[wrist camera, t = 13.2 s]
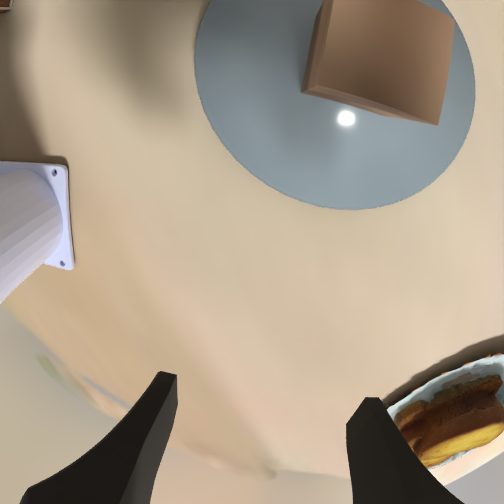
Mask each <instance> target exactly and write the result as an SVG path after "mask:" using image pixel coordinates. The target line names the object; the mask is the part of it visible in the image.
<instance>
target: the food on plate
mask: <svg viewBox="0 0 504 504" xmlns="http://www.w3.org/2000/svg"><path fill="white" fill-rule="evenodd" d="M490 355H491V354H489V355H488V356H487V357H486V358H482V359H480V360H476V361H474V362H469V363H465V365H464V366H463V367H461V368H458V369H456V370H453V371H450V372H445V373H442V374H441V376H438V377H436V378H434V379H432V380H430V381H429V382H428V383H426V384H425V385H424V386H421V387H419V388H417V389H415V390H414V391H412V392H413V393H412V394H410V395H409V396H407V397H405V398H404V399H402V400H401V401H399V402H397V403H396V404H395V405H393V406H390V407H389V408H388V409H387V411H388V413H389V415H390V416H391V418H392V419H393V421H394V423H396V426H397V428H398V429H399V431H400V432H401V434H402V435H403V437H404V438H405V440H406V441H407V443H408V444H409V446H410V447H411V449H412V450H413V452H414V453H415V454H416V456H417V457H418V458H419V460H420V461H421V462H422V463H423V465H424V466H425V467H426V468H427V469H428V470H430V469H433V468H436V467H439V466H442V465H445V464H447V463H449V462H451V461H453V460H455V459H457V458H459V457H462V456H464V455H466V454H467V453H469V452H471V451H472V450H474V449H476V448H477V447H481V446H484V445H486V444H488V443H490V442H491V441H492V440H494V439H495V438H496V437H498V436H499V435H500V434H501V433H502V432H503V431H504V355H503V354H501V353H497V354H495V355H493V357H491V356H490ZM467 373H470V374H471V375H476V374H478V373H479V374H480V375H481V376H478V377H474V378H472V379H469V380H467V381H464V382H462V383H460V384H457V385H452V386H448V387H444V388H443V387H442V385H443V384H445V383H447V382H450V381H452V380H455V379H456V378H458V377H459V376H461V375H464V374H467Z"/></svg>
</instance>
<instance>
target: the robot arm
mask: <svg viewBox="0 0 504 504" xmlns="http://www.w3.org/2000/svg"><path fill="white" fill-rule="evenodd" d="M55 169H56V171H57V174H56V173H55ZM63 262H64V263H65V264H64V263H63ZM42 263H44V264H48V265H51V266H55V267H59V268H62V269H66V270H72V269H73V268H74V266H75V263H74V255H73V246H72V237H71V225H70V212H69V192H68V169H67V167H66V166H65V165H61V164H48V163H32V162H12V161H0V303H1V302H2V301H3V300H4V299H5V298H6V297H7V296H8V295H9V294H10V293H11V292H12V291H13V290H14V289H16V288H17V287H18V286H19V285H20V284H21V283H22V282H23V281H24V280H25V279H26V278H27V277H28V276H29V275H30V274H31V273H32V272H34V271H35V270H36V269H37V268H38V267H39V266H40V265H41V264H42ZM177 406H178V399H177V375H176V374H171V373H167V372H163V371H160V372H158V373H157V375H156V376H155V378H154V379H153V381H152V382H151V384H150V385H149V387H148V388H147V389H146V391H145V392H144V393H143V395H142V396H141V397H140V399H139V400H138V401H137V402H136V404H135V405H134V406H133V407H132V408H131V410H130V411H129V412H128V413H127V414H126V415H125V417H124V418H123V419H122V420H121V421H120V422H119V423H118V424H117V425H116V426H115V427H114V428H113V429H112V430H111V431H110V432H109V433H108V434H107V435H106V436H105V437H104V438H103V439H102V440H101V441H100V442H99V443H97V444H96V445H95V446H94V447H93V448H92V449H90V450H89V451H88V452H87V453H85V454H84V455H83V456H81V457H80V458H79V459H77V460H76V461H75V462H73V463H72V464H70V465H69V466H67V467H66V468H64V469H62V470H61V471H59V472H58V473H56V474H54V475H53V476H51V477H49V478H47V479H45V480H43V481H41V482H39V483H37V484H35V485H33V486H31V487H29V488H28V489H27V491H26V492H25V494H24V495H23V497H22V499H21V502H20V504H150V499H151V494H152V490H153V485H154V480H155V477H156V474H157V471H158V468H159V465H160V462H161V459H162V456H163V454H164V451H165V448H166V445H167V442H168V439H169V436H170V433H171V431H172V428H173V423H174V419H175V414H176V410H177ZM346 444H347V454H348V461H349V468H350V476H351V482H352V492H353V504H464V503H463V502H462V501H460V500H459V499H457V498H456V497H455V496H454V495H453V494H451V493H450V492H449V491H448V490H447V489H446V488H445V487H444V486H443V485H442V484H441V483H440V482H439V481H438V480H437V479H436V478H435V477H434V476H433V475H432V474H431V473H430V472H429V471H428V469H427V468H426V467H425V466H424V465H423V463H422V462H421V461H420V460H419V458H418V457H417V456H416V454H415V453H414V452H413V450H412V449H411V447H410V446H409V444H408V443H407V441H406V440H405V438H404V437H403V435H402V434H401V432H400V431H399V429H398V428H397V426H396V424H395V423H394V421H393V419H392V418H391V416H390V415H389V413H388V411H387V410H386V408H385V407H384V405H383V403H382V402H381V400H380V399H379V397H365V399H364V400H363V402H362V403H361V404H360V406H359V407H358V409H357V410H356V412H355V413H354V414H353V416H352V417H351V418H350V420H349V421H348V422H347V424H346Z"/></svg>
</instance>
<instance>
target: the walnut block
mask: <svg viewBox="0 0 504 504" xmlns="http://www.w3.org/2000/svg"><path fill="white" fill-rule="evenodd" d="M454 22H455V19H453V18H451V17H449V16H447V15H446V14H444V13H442V12H440V11H438V10H436V9H434V8H432V7H430V6H428V5H426V4H424V3H422V2H420V1H417V0H324V1H323V3H322V5H321V7H320V9H319V11H318V13H317V15H316V18H315V23H314V28H313V33H312V39H311V44H310V49H309V54H308V59H307V64H306V69H305V74H304V79H303V84H302V89H301V93H303V94H307V95H311V96H316V97H320V98H324V99H328V100H331V101H335V102H339V103H343V104H346V105H350V106H353V107H356V108H360V109H363V110H366V111H369V112H373V113H376V114H379V115H382V116H387V117H393V118H399V119H405V120H411V121H417V122H422V123H427V124H432V125H437V126H438V124H439V120H440V115H441V111H442V106H443V101H444V96H445V90H446V85H447V79H448V73H449V66H450V59H451V51H452V43H453V33H454Z"/></svg>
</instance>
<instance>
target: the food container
mask: <svg viewBox="0 0 504 504" xmlns="http://www.w3.org/2000/svg"><path fill="white" fill-rule="evenodd" d="M12 5H13V0H0V14H1V13H5V12H7V11H10V10H12Z"/></svg>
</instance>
